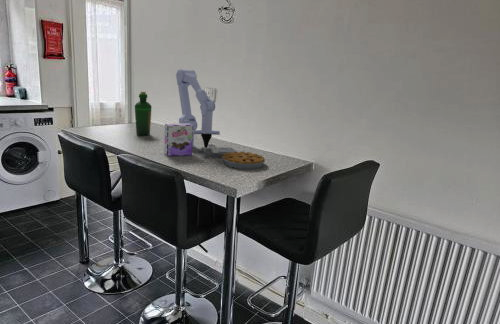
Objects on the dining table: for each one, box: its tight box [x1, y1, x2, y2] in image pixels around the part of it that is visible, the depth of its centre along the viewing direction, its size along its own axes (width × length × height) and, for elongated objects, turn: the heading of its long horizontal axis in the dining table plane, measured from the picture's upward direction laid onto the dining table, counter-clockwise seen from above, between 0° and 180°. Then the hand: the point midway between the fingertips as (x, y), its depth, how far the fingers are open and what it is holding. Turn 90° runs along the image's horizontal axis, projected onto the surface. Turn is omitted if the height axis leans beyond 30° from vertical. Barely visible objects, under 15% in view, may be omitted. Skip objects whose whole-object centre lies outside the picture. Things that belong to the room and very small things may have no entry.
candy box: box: [163, 122, 193, 157], centre depth 179 cm, size 14×6×16 cm, turn 117°
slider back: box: [208, 141, 216, 149], centre depth 191 cm, size 3×4×3 cm
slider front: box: [211, 145, 219, 153], centre depth 183 cm, size 3×4×3 cm
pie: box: [221, 151, 266, 170], centre depth 173 cm, size 22×22×5 cm
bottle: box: [134, 91, 152, 137], centre depth 222 cm, size 11×11×28 cm
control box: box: [200, 146, 238, 159], centre depth 189 cm, size 18×16×2 cm
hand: (205, 147), depth 190 cm, fingers closed
